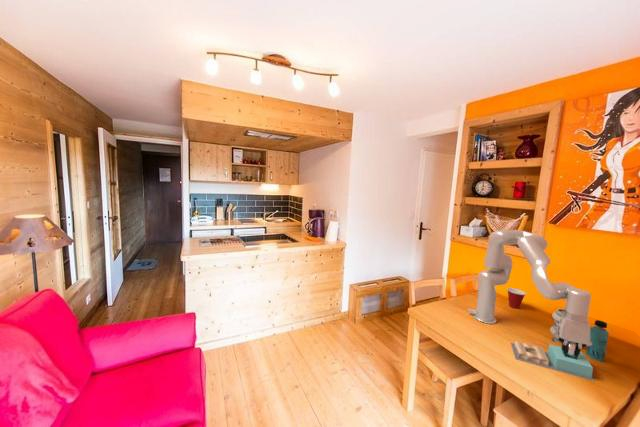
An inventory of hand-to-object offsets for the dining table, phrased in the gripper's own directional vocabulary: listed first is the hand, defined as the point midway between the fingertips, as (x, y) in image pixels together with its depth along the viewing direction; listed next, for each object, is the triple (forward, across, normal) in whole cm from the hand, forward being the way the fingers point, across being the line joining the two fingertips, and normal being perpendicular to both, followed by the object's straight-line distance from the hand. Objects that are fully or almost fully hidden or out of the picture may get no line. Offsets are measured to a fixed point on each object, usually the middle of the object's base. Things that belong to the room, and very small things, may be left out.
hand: (570, 353), depth 121 cm
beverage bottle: (+8, +14, +15) cm, 22 cm away
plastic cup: (+8, -11, +64) cm, 65 cm away
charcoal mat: (+8, -7, 0) cm, 10 cm away
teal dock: (+6, 0, 0) cm, 6 cm away
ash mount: (+6, -14, 0) cm, 15 cm away
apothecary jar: (+8, +5, +25) cm, 27 cm away
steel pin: (+3, 0, 0) cm, 3 cm away
